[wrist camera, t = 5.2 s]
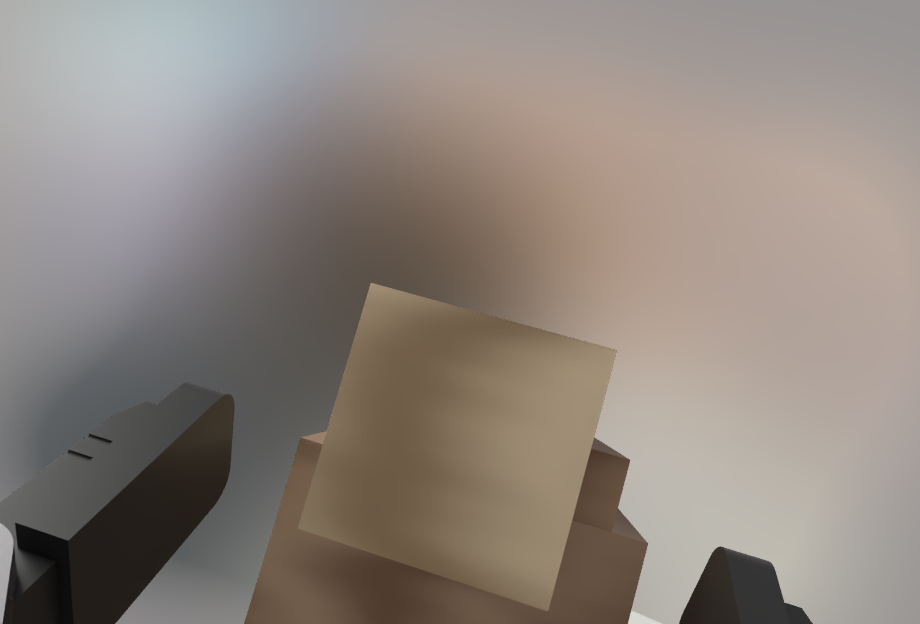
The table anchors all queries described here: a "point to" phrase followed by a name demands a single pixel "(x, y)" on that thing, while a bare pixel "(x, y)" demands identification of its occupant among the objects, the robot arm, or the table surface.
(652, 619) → the table surface
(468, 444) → the oak block
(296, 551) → the walnut stand
